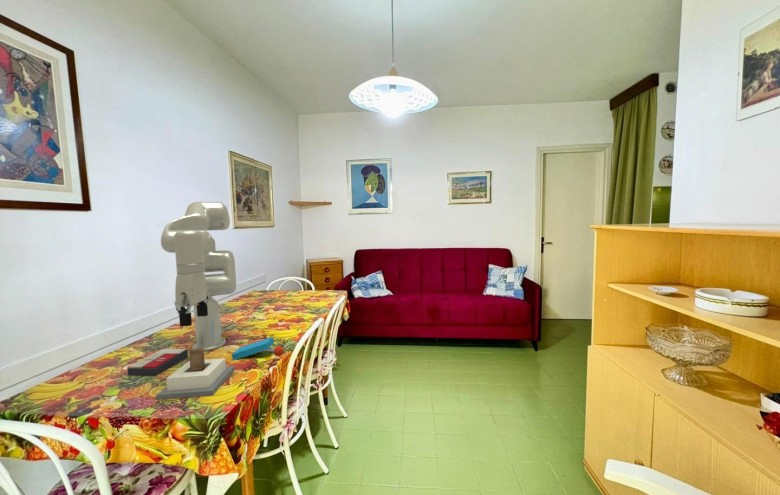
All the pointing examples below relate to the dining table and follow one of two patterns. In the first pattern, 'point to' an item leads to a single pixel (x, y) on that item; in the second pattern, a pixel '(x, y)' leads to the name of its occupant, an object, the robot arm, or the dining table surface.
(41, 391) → the dining table surface
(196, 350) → the walnut peg
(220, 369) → the socket block
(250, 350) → the lever
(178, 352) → the black red box
